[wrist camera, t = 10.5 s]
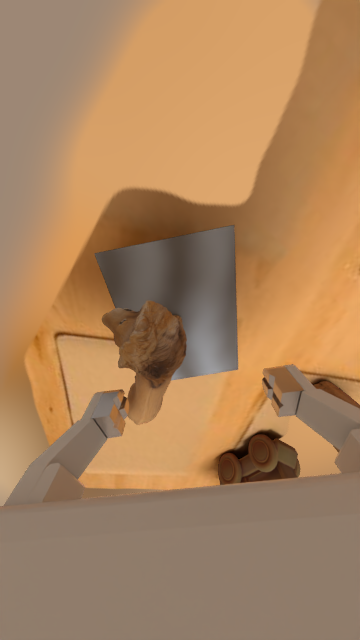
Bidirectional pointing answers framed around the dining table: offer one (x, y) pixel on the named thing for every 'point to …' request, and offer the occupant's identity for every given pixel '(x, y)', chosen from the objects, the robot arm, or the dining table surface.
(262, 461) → the wooden toy train
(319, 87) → the dining table surface
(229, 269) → the stand
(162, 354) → the lion figurine
